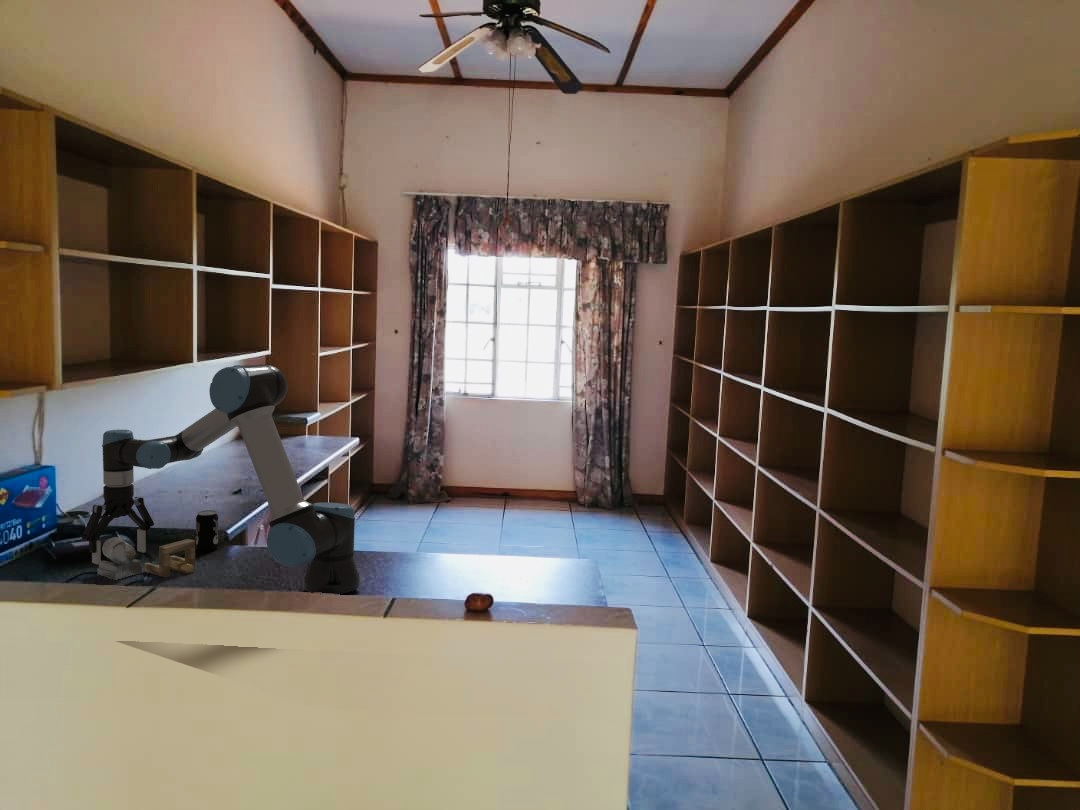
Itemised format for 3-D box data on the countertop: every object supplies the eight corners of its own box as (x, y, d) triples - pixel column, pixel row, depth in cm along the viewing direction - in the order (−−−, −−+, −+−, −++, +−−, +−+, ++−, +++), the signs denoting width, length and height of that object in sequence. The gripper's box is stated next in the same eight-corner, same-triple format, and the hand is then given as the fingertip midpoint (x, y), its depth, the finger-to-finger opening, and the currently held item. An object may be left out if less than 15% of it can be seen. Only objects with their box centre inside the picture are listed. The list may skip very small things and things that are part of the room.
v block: (141, 572, 221) (141, 560, 221) (115, 580, 214) (115, 567, 214) (124, 567, 225) (123, 555, 225) (97, 575, 218) (97, 562, 217)
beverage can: (210, 552, 242) (209, 515, 241) (191, 550, 244) (191, 513, 243) (222, 547, 249) (222, 511, 248) (204, 545, 250) (204, 509, 249)
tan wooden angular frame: (195, 568, 227) (194, 540, 226) (166, 577, 218) (165, 548, 217) (173, 563, 231) (173, 535, 230) (144, 571, 223) (144, 542, 222)
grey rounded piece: (134, 564, 218) (136, 543, 218) (111, 566, 214) (113, 544, 214) (123, 557, 224) (126, 536, 224) (100, 558, 220) (103, 537, 220)
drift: (189, 576, 223) (196, 568, 224) (184, 570, 221) (191, 562, 223) (165, 570, 227) (172, 563, 229) (160, 564, 225) (167, 557, 227)
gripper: (150, 475, 230) (150, 544, 232) (66, 490, 208) (67, 566, 210) (166, 479, 226) (167, 549, 228) (83, 493, 204) (84, 571, 206)
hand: (119, 557), depth 219 cm, fingers open, 13 cm apart
